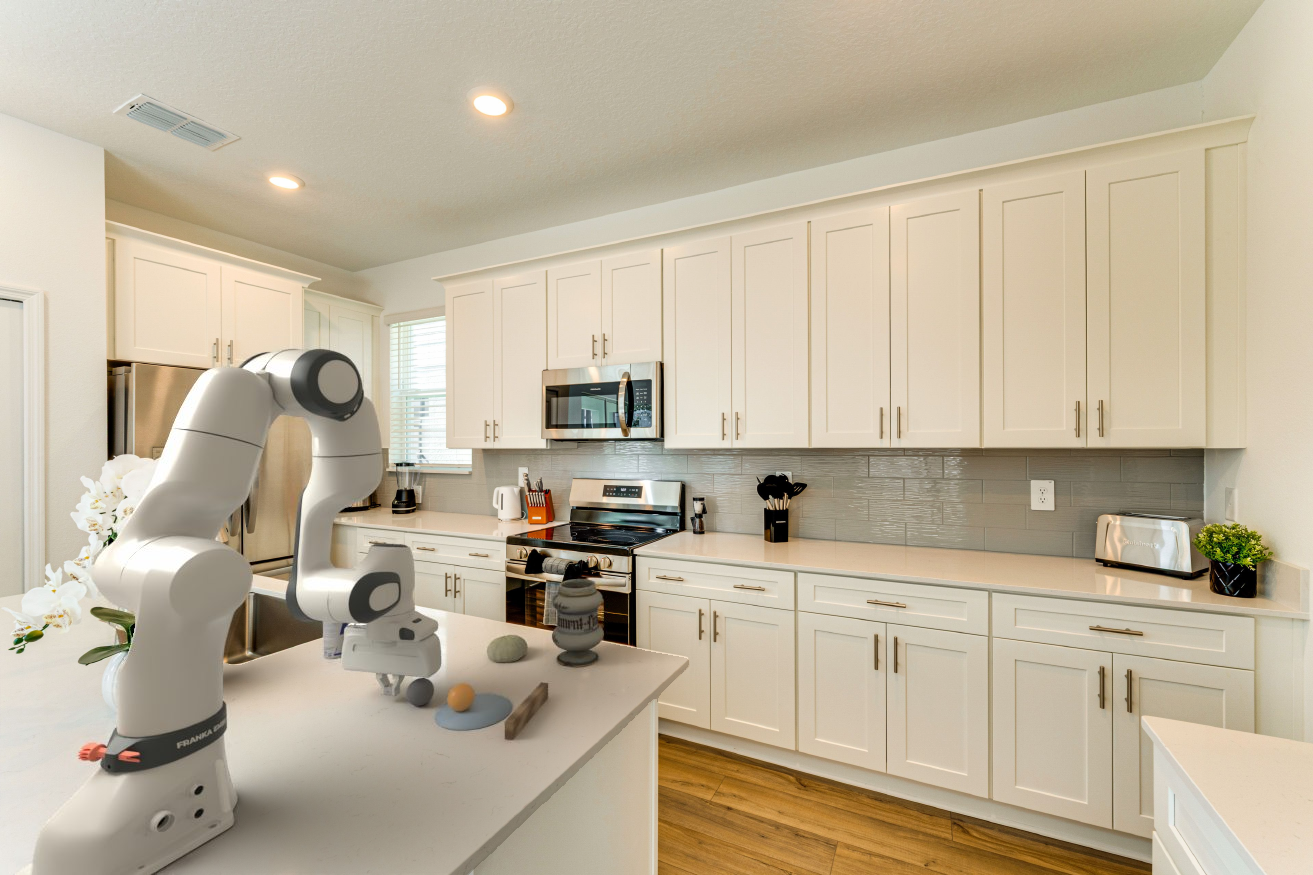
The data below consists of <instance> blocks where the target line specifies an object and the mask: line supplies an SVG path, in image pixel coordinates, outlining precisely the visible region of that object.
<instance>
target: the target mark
mask: <svg viewBox="0 0 1313 875" xmlns="http://www.w3.org/2000/svg"><path fill="white" fill-rule="evenodd" d="M512 710H513V703H512V702H511V700H510V699H509V698H508V697H506V696H503V695H500V694H496V693H476V694H475V699H474V702H473V704H472V705H471V706H470V707H469V708H468V709H467V710H465V711H461V712H457V711H454V710H452V709H451V708H450V707H449V705H448V702H446V703H445V704H443V705H442V706H440V707H439V708H438V710H436V713H435V714H434V720H436V721H435V722H436V724H437V725H438V724H439V725H438V726H440V727H441V726H442V727H441V728H444V729H446V728H447V729H446V730H452V731H471V730H480V729H483V728H486V727H490V726H493V725H495V724H497V723H499V722H501V721H502V720H504V719H505V718H507V717H508V716H510V713H511V712H512Z"/></svg>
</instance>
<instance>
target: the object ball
mask: <svg viewBox="0 0 1313 875" xmlns="http://www.w3.org/2000/svg"><path fill="white" fill-rule="evenodd" d="M474 699H475V689H474V688H473V687H472V685H470V684H469V683H466V682H461V683H457V684H455V685H453V687H451V689H450V690H449V691H448V694H447V699H446V700H447V703H448V705H449V707H450V708H451V709H452V710H454V711H457V712H461V711H465V710H467V709H468V708H469V707H470V706H471V705H472V704H473V702H474Z"/></svg>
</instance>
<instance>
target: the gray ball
mask: <svg viewBox="0 0 1313 875" xmlns="http://www.w3.org/2000/svg"><path fill="white" fill-rule="evenodd" d="M434 693H435V686H434V684H433V682H432V681H431V680H430V679H429V678H424V677H417V678H416V679H414V680H413V681H412V682H411V683H409V685H408V686H407V689H406V694H405V695H406V699H407V700H408V703H410V704H411V705H413V706H417V707H420V706H423V705H426V704H427V703H428V702H430V701H431V699H432V698H433V696H434Z"/></svg>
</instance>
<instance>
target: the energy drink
mask: <svg viewBox="0 0 1313 875" xmlns="http://www.w3.org/2000/svg"><path fill="white" fill-rule="evenodd" d="M348 624H350V623H336V622H326V621H322V656H323V658H324V657H325V658H324V659H326V658H335V659H338V658H337V657H340V658H341V654H342V647H343V641H344V629H345V628H346V626H347V625H348Z"/></svg>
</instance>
